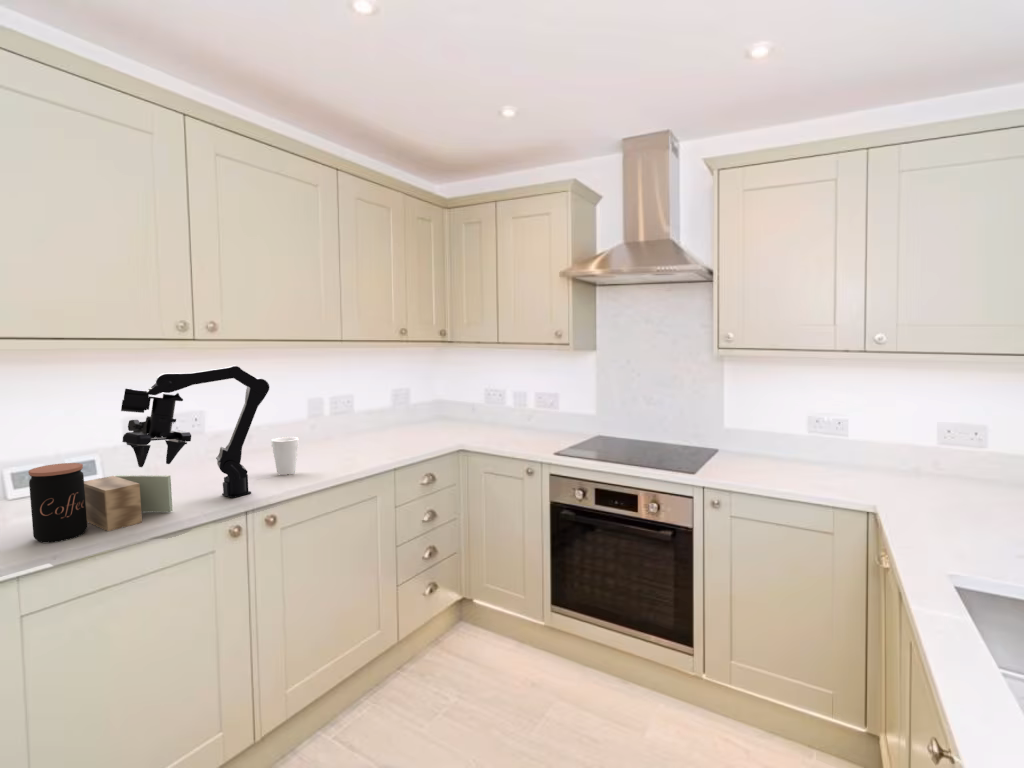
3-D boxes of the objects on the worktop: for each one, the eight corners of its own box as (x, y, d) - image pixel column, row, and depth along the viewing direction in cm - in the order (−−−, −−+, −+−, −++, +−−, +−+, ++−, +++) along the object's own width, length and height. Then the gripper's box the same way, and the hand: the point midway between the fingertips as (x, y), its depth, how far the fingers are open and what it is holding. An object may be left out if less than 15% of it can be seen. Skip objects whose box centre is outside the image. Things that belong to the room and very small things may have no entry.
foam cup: (283, 469, 206) (282, 436, 205) (304, 470, 204) (303, 437, 203) (267, 475, 197) (266, 441, 196) (289, 476, 195) (288, 442, 194)
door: (121, 508, 157) (118, 474, 156) (175, 509, 157) (173, 474, 156) (115, 511, 155) (112, 476, 154) (169, 512, 154) (167, 476, 153)
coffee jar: (37, 547, 129) (31, 475, 128) (30, 536, 136) (25, 468, 135) (91, 535, 137) (86, 467, 136) (83, 525, 144) (78, 460, 143)
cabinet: (115, 512, 155) (113, 475, 154) (141, 522, 147) (139, 483, 146) (82, 520, 148) (79, 482, 147) (108, 531, 140) (105, 490, 139)
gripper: (167, 410, 170) (160, 458, 170) (111, 410, 152) (103, 464, 152) (195, 415, 168) (188, 464, 168) (142, 416, 150) (133, 470, 149)
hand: (154, 465), depth 159 cm, fingers open, 9 cm apart
